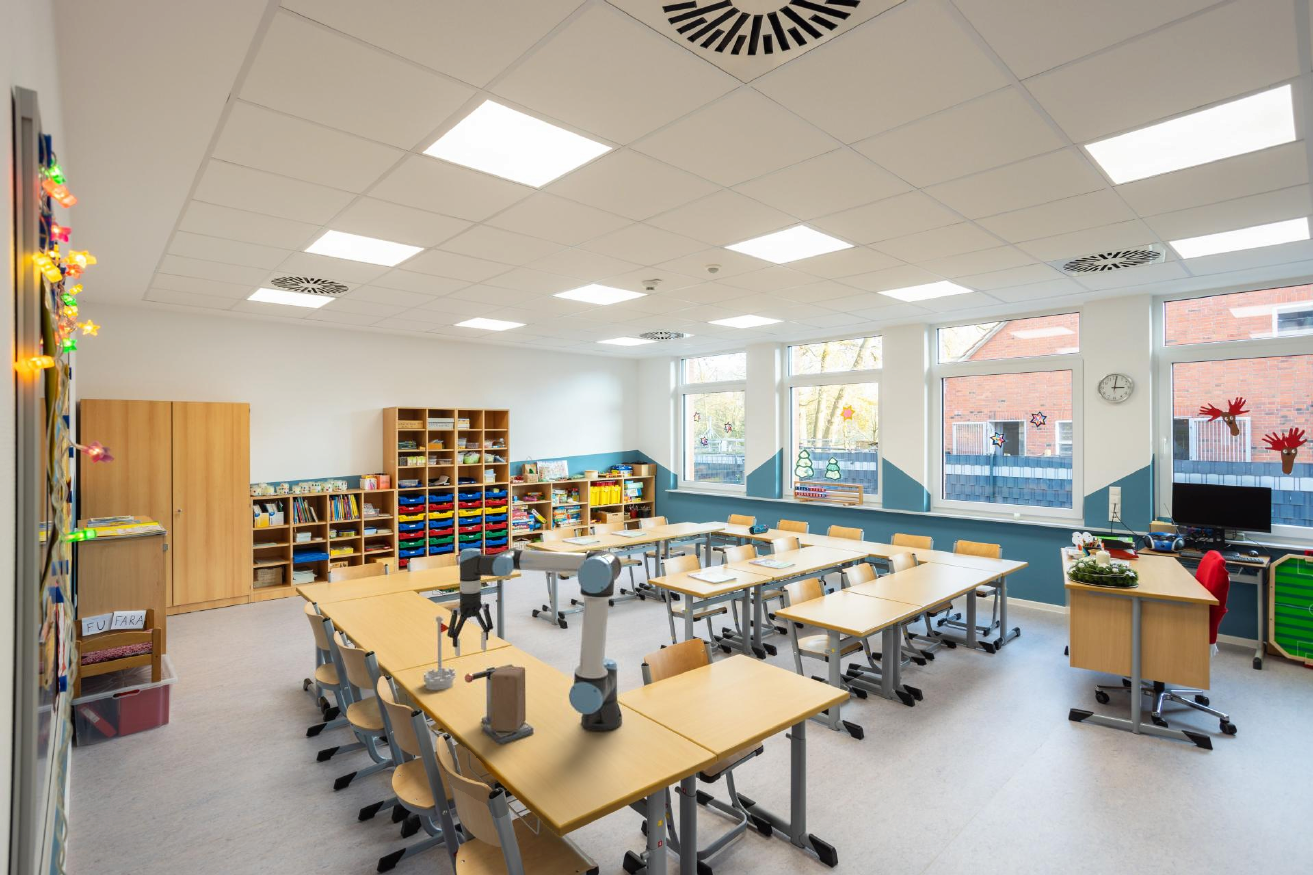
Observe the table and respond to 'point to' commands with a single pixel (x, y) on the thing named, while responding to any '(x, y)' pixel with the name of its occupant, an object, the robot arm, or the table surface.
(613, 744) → the table surface
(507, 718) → the wooden block
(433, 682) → the flag stand
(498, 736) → the press
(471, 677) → the lever
